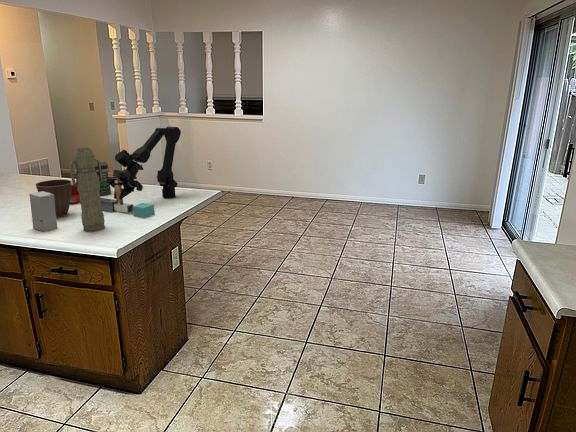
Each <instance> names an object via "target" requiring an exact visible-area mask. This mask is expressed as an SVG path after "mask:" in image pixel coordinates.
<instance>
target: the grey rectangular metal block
mask: <svg viewBox="0 0 576 432" xmlns="http://www.w3.org/2000/svg"><path fill="white" fill-rule="evenodd" d="M100 201H101V209H102V212H108V213H115V212H117V211H116V210H113V206H112V203H115V202H116V199H114V198H113V199H112V198H105V197H100Z"/></svg>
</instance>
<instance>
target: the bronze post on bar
mask: <svg viewBox="0 0 576 432" xmlns="http://www.w3.org/2000/svg"><path fill="white" fill-rule="evenodd" d="M122 189H123V187H121V185H115V188H114V191H115V193H116V199H115V200H116V202H115V203H112V206H113V210H116V211H115V212H123V213H128V214H129V213H133V208H132V206H135V204H132V203H124V198H122V199H121V200H120V199H119V197H120V195H121V193H122Z"/></svg>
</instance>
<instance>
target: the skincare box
mask: <svg viewBox="0 0 576 432" xmlns="http://www.w3.org/2000/svg"><path fill="white" fill-rule="evenodd" d="M29 201H30V212H31V221H32V228H33V230H34V229H35V230H38V231H41V232H47V231H51V230H55V229H58V224H57V223H58V222H57V221H58V220H57V217H56V211H55V200H54V194H51V193H48V192H44V191H42V192H38V191H36V192H31V193H29Z"/></svg>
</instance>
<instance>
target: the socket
mask: <svg viewBox="0 0 576 432" xmlns="http://www.w3.org/2000/svg"><path fill="white" fill-rule="evenodd" d="M132 208H133V212H132V216H133V217H134V218H139V219H147V218H149V217H152V216H153V215H155V213H156V212H155V204H154V203H147V202H146V203H145V202H141V203H137V204H136V205H135V204H134V206H132Z"/></svg>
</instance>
